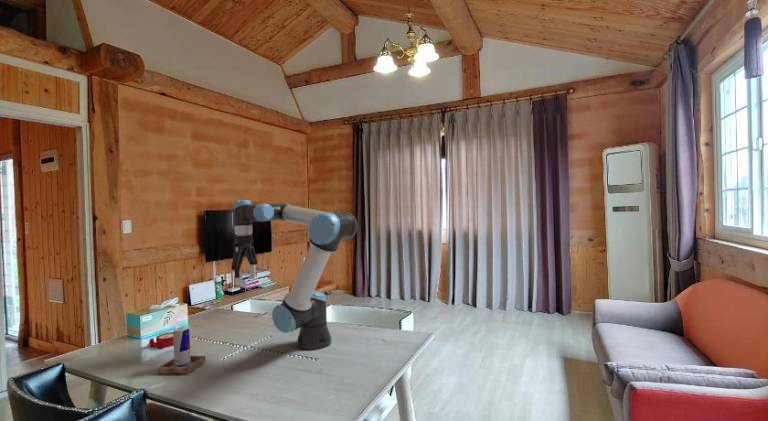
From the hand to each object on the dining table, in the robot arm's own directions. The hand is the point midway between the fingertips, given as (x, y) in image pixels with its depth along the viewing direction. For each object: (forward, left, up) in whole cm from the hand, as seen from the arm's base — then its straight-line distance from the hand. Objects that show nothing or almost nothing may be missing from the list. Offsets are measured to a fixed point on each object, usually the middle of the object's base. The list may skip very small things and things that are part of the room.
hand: (245, 281), depth 171 cm
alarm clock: (+41, 0, -29) cm, 50 cm away
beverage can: (+15, +24, -28) cm, 40 cm away
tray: (+16, +24, -29) cm, 40 cm away
